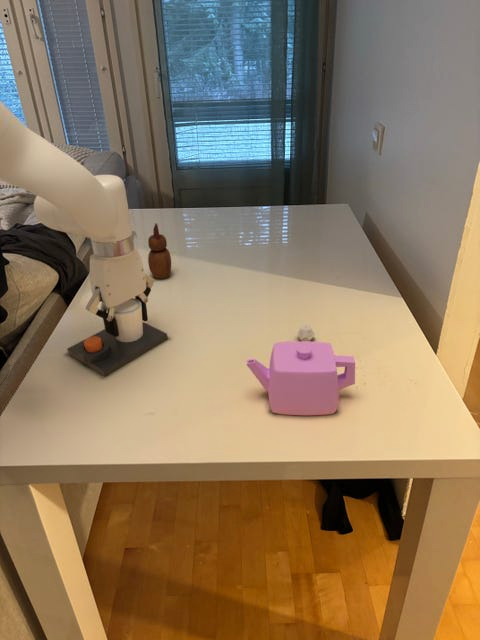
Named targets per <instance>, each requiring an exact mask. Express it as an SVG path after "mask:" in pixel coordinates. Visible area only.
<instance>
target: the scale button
mask: <svg viewBox="0 0 480 640" xmlns="http://www.w3.org/2000/svg"><path fill="white" fill-rule="evenodd" d="M92 336H93V335H92ZM85 339H86V340H85ZM85 339H84V340H85V341H84V345H85V349H86V351H87V352H96V351H99V350H101V349H102V347H103V346H102V341H101V338H100V337H97V336H93V337H91V336H89V337H87V338H85Z"/></svg>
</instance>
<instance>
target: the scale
mask: <svg viewBox="0 0 480 640" xmlns="http://www.w3.org/2000/svg"><path fill="white" fill-rule="evenodd" d="M142 325H143V335H142V336H141V338H139V339H138V340H135V341H132V342H121V341H118V340H117V339H116V337H115V336H113V335H111V334H109V333H107V332H106V330H105V328H104V329H102V330H100V331H98V332H97V333H94V334H93V335H90V337H93V336H97V337H100V338H101V341H102V346H103V347H102V349H101V350H99V351H96V352H87V351H86V349H85V345H84V341H85V340H86V339H87V338H85V339H83V340H81V341H79V342H77V343H75V344H74V345H71V346H69V347H67V353H68V355H69V356H71V357H72V358H74V359H76V360H77V361H79V362H80V363H82V364H83V365H85V366H87V367H88V368H90V369H91V370H93V371H95V372H96V373H98V374H100V375H101V376H103V377H107V376H108V375H110V374H112V373H114V372H115V371H117V370H119V369H120V368H122V367H124V366H126V365H127V364H129V363H130V362H132V361H134V360H135V359H138V358H139V357H140V356H141V355H144V354H145V353H147V352H148V351H150V350H152V349H153V348H155V347H157V346H159V345H161V344H162V343H164V342H165V341H167V340H168V339H169V338H168V337H169V336H168V333H167V332H165V331H163V330H160V329H159V328H157V327H155V326H152V325H150V324H148V323H145V321H142Z"/></svg>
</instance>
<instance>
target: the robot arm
mask: <svg viewBox="0 0 480 640" xmlns="http://www.w3.org/2000/svg"><path fill="white" fill-rule="evenodd" d="M0 181H1V182H4V183H6V184H9V185H12V186H13V187H14V186H15V187H17V188H20V189H22V190H25V191H27V192H29V193H32V194H34V195H36V196H35V198H34V201H33V212H34V214H35V217H36V218H37V220H38V221H39V222H40V224H42V225H43V226H45V227H47V228H48V229H51V230H54V231H59V232H62V233H65V234H72V235H76V236H80V237H84V238H88V239H89V240H90V244H91V248H92V254H90V255H89V279H90V287H91V288H90V289H91V293H92V295H91V297H90V299H89V300H88V302H87V304H86V306H85V310H86V311H88V312H90V313H91V314H94V315H95V316H97V317H99V318H101V319H102V320H103V325H104V329H105V330H106V332H107V333H109V334H111V335H113V336H115V337H117V336H119V332H118V327H117V322H116V319H114V318H113V315H114V311H115V306H117V305H119V304H121V303H123V302H125V301H127V300H129V299H131V298H135V299H138V300H139V301H140V302H141V307H142V322H147V321H148V320H149V318H148V309H147V303H148V302H149V298H148V297H150V296H149V295H150V293H151V291H152V287H153V285H154V283H155V277H153V276H150V275H148V274H146V273H145V268H144V265H143V261H142V257H141V254H140V252H139V249H138V248H137V246H136V245H135V242H134V241H135V239H136V238H137V237H138V234H137V231H135V230H132V224H131V216H130V210H129V204H128V198H127V191H126V185H125V183H124V180H123V179H122V178H121V177H119V176H118V175H115V174H96V175H94V174H92V172H90V171H89V170H88V169H87V168H86V167H85V166H83V164H81V163H80V162H78V161H77V160H76V159H75V158H73V157H72V156H70V155H69V154H67V153H65V151H63V150H61V149H60V148H58V147H57V146H56V145H54V144H52V143H51V142H50V141H48V140H47V139H46V138H44V137H43V136H41V135H40V134H38V133H36V132H34V131H33V130H31V129H30V128H29V127H27V125H25V124H24V123H23V122H22V121H21V120H20V119H19V118H18V116H16V115H15V114H14V112H12V111H11V110H10V109H9V108H8V107H7V106H6V105H5V104H4V103H3V102H2V101H1V100H0ZM100 303H101V304H100ZM99 304H100V308H98V305H99ZM107 308H108V312H107Z"/></svg>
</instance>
